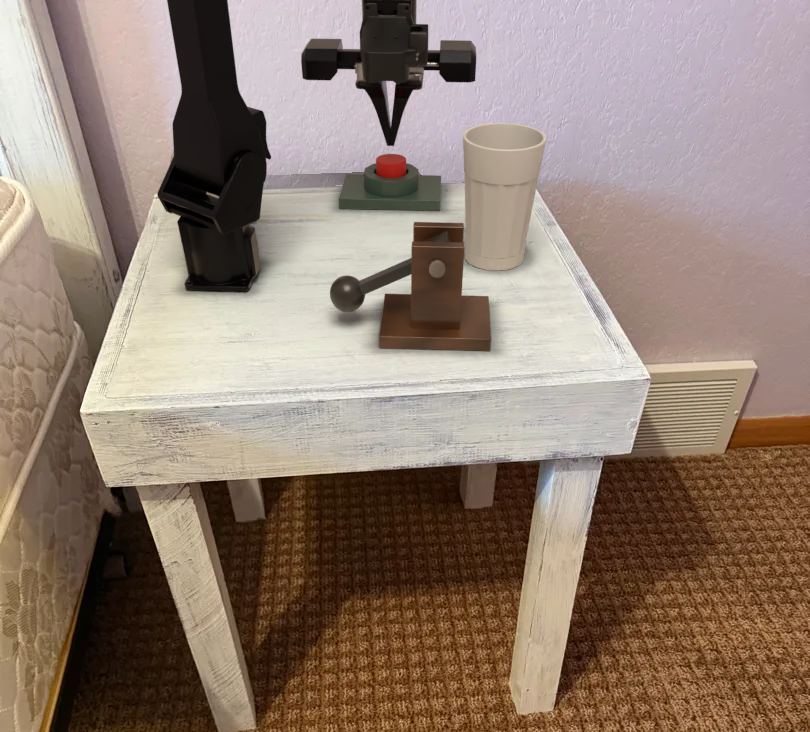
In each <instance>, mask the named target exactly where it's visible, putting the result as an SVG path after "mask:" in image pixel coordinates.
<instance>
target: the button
mask: <svg viewBox="0 0 810 732" xmlns="http://www.w3.org/2000/svg"><path fill="white" fill-rule="evenodd" d="M375 163H376V175H377V176H381V177H385V178H397V177H402V176H405V175H406V163H407V158H406V157H405V156H404V155H403V154H398V153H385V154H381V155H379V156H377V157H376V158H375Z"/></svg>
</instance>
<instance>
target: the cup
mask: <svg viewBox="0 0 810 732" xmlns="http://www.w3.org/2000/svg"><path fill="white" fill-rule="evenodd" d="M546 142H547V136H546V134H545V133H544V132H543V131H542V130H540V129H538V128H535V127H533V126H529V125H525V124H519V123H511V122H493V123H492V122H491V123H482V124H478V125H474V126H472V127H470V128H468V129H466V130H465V131H464V132H463V134H462V146H463V147H462V148H463V150H462V151H463V172H464V221H465V222H464V223H465V224H464V233H465V242H464V260H465V261H466V262H467V263H468V264H469V265H471V266H473V267H475V268H477V269H481V270H484V271H485V270H486V271H507V270H511V269H514V268H517V267H519V266H520V265H521V264H523V262H524V260H525V252H526V243H527V238H528V233H529V227H530V222H531V216H532V212H533V206H534V201H535V196H536V191H537V185H538V181H539V175H540V173H541V167H542V162H543V157H544V153H545V147H546V144H547V143H546Z"/></svg>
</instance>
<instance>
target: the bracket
mask: <svg viewBox="0 0 810 732" xmlns="http://www.w3.org/2000/svg"><path fill="white" fill-rule="evenodd" d="M464 223H465V222H440V221H439V222H436V221H433V222H432V221H413V226H412V227H413V229H412V230H413V231H412V233H413V236H412V237H413V239H412V241H411V257H410V258H411V275H410V277H411V279H410V289H411V290H410V293H384V297H383V304H382V311H381V319H380V325H379V333H378V348H379V349H396V350H397V349H399V350H401V349H402V350H435V351H437V350H438V351H439V350H441V351H445V350H446V351H472V352H473V351H477V352H481V351H482V352H491V347H492V346H491V345H492V329H491V327H492V326H491V315H490V313H491V312H490V297H489V295H463V278H464V261H465V242H464V234H465V224H464ZM445 231H448V233H449V236H450V238H451V240H452V242H423V241H425V240H427V239H429V238H432V237H434V236H436V235H438V234H440V233H443V232H445Z"/></svg>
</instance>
